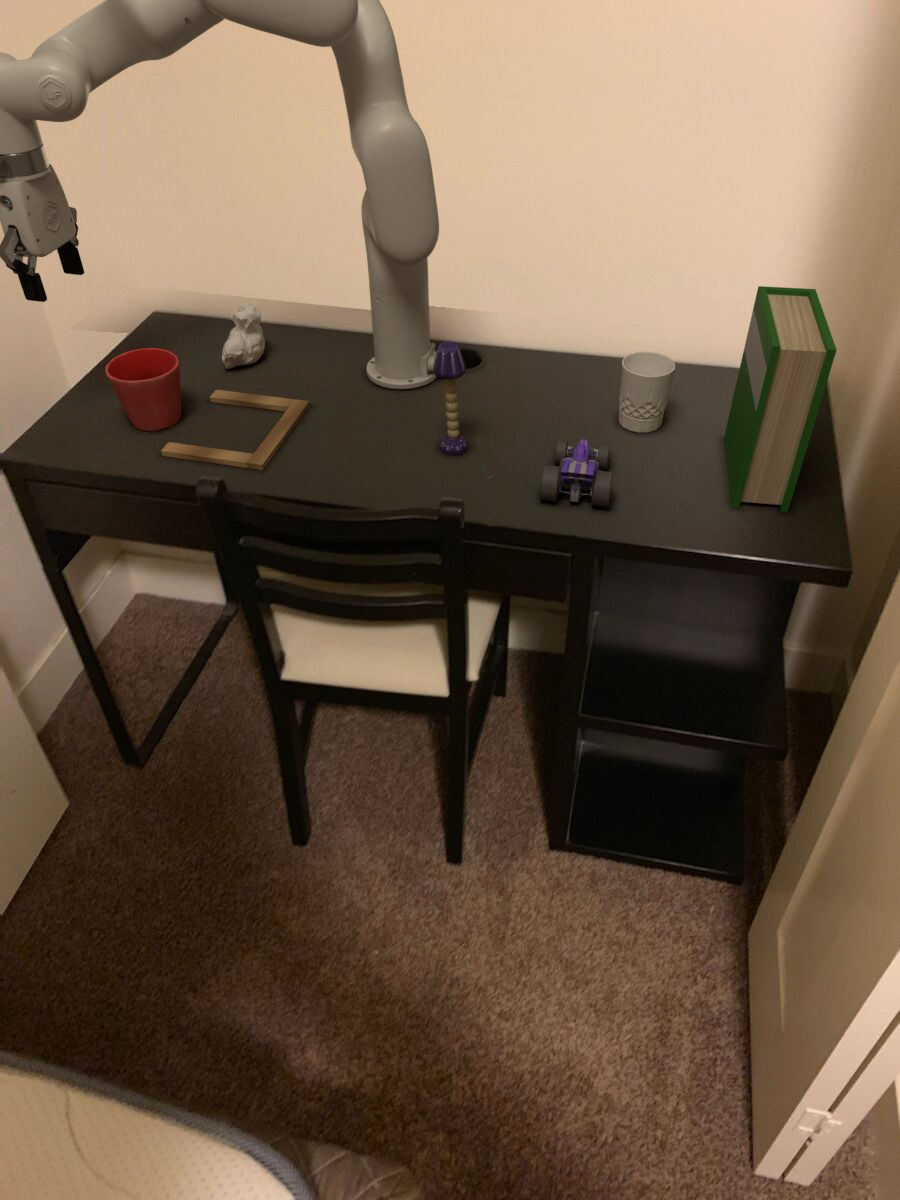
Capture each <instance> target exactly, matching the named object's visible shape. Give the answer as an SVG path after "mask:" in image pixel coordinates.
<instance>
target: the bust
mask: <svg viewBox="0 0 900 1200" xmlns="http://www.w3.org/2000/svg"><path fill="white" fill-rule="evenodd" d="M236 310H237V311H234V312H233V313H232V314H231V315H230V320H231V321H232V322H233V323H234V324H235V326H234V327H233V328H232V329H231V330H230V331H229V335H228V337H227V339H226V341H225V342H224V344H223V348H222V350H221V351H222V352H221V361H222V364H223V366H224V367H225V368H226V369H227V370H230V369H233V368H236V367H239V366H247V365H252V364H255V363H257V362H258V361H259V360H260V358H261V357H262V356H263V354H264V351H265V348H266V344H265V343H266V341H265V336H264V333H263V331H264V330H263V328H262V326H261V325H260V324H261V323H262V316H263V315H262V312H261V309H260V308H259V307H258V306H257V305H255V304H253V302H251V301H248V302H244V303H243V304H241V305H239V306H238V307H237V309H236Z"/></svg>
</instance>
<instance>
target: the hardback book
mask: <svg viewBox="0 0 900 1200" xmlns="http://www.w3.org/2000/svg"><path fill="white" fill-rule="evenodd" d="M754 299H755V300H754V304H753V308H752V312H751V317H750V322H749V325H748V331H747V334H746V339H745V343H744V348H743V352H742V356H741V360H740V366H739V370H738V374H737V378H736V383H735V387H734V391H733V396H732V401H731V404H730V409H729V413H728V419H727V423H726V427H725V432H724V436H723V446H724V452H725V462H726V469H727V477H728V484H729V486H728V487H729V494H730V500H731V508H732V509H740V506H741V503H753V504H765V505H776V506H777V505H778V506H779V511H780V513H789V509H790V506H791V502H792V499H793V497H794V493H795V489H796V486H797V483H798V480H799V476H800V473H801V470H802V466H803V463H804V460H805V456H806V452H807V450H808V446H809V443H810V439H811V437H812V433H813V429H814V426H815V423H816V420H817V416H818V413H819V410H820V407H821V403H822V399H823V397H824V393H825V390H826V388H827V387H826V386H827V384H828V380H829V377H830V373H831V370H832V367H833V364H834V360H835V357H836V354H837V350H838V349H837V347H836V344H835V341H834V338H833V334H832V333H831V330H830V326H829V324H828V321H827V318H826V316H825V315H826V314H825V312H824V309H823V307H822V304H821V301H820V298H819V296H818V293H817V289H816V288H804V287H803V288H802V287H781V286H765V285H764V286H760V285H758V286H757V291H756V295H755V298H754Z"/></svg>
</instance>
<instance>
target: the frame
mask: <svg viewBox="0 0 900 1200" xmlns="http://www.w3.org/2000/svg"><path fill="white" fill-rule="evenodd" d="M209 401H210V403H214V404H215V403H216V404H223V405H229V406H230V405H231V406H239V407H246V408H253V409H254V408H255V409H264V410H269V411H270V410H271V411H278V412H284V413H283V414H282V416H281V417H280V418H279V419H278V421H277V422H276V423H275V425H274V426H273V427H272V429H271V430H270V432H269V433H268V434H267V436H265V438H264V439H263V441H262V442H261V443H260V444H259V445H258V447H257V449H255V451H254V452H253V453H251V452H244V451H237V450H236V451H235V450H229V449H222V448H215V447H207V446H200V445H192V444H185V443H179V442H171V441H168V442H167V443H166V444H165V445H164V446H163V447H162V449H161V450H160V453H161V456H162V457H167V458H173V459H181V460H188V461H194V462H195V461H196V462H201V463H202V462H203V463H209V464H215V465H216V464H218V465H222V466H223V465H224V466H229V467H230V466H231V467H236V468H237V467H238V468H243V469H251V470H257V471H264V470H265V468H267V466H268V464H269V463H270V462H271V460H272V459H273V458H274V456H275V455H276V454H277V452H278V451H279V449H280V448H281V447H282V446H283V444H284V443H285V441H286V440H287V439H288V437H289V436H290V434H291V433H292V432H293V431H294V429H295V428H296V426H297V425H298V423H299V422H300V421H301V419H302V418H303V417H304V415H305V414H306V412H307V411H308V410H309V409H310V407H311V403H310V400H303V399H295V398H286V397H279V396H273V395H272V396H271V395H263V394H257V393H256V394H255V393H247V392H239V391H230V390H222V389H215V390H214V391H213V392H212V394H211V395H210V396H209Z"/></svg>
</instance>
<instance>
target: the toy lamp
mask: <svg viewBox="0 0 900 1200" xmlns="http://www.w3.org/2000/svg"><path fill="white" fill-rule="evenodd" d="M436 351H437V354H436V359H435V363H434V374H435V375H436V376H437V378H438V379H441V380H444V391H445V395H444V398H445V401H446V402H445V409H446V412H445V417H446V419H447V421H446V426H447V435H445V436H444V437H443V438H442V439H441V441H440V443H439V450H440V451H441V452H442V453H443V454H445V455H448V456H459V455H462V454H464V453H465V452H466V451H467V450H468V447H469V446H468V441H467V439H466V438H465V437H464V436H462V435H461V434H460V430H459V426H460V423H459V412H458V408H459V404H458V401H457V400H458V392H457V389H458V384H457V379H459V378H462V377H463V376H464V375H465V374H466V372H467V366H466V363H465V360H464V359H465V358H464V357H463V356H464V355H463V353H462V351H461V348H460V345H459V344H458V343H457V342H454V341H443V342H441V343H440V344H438V347H437V350H436Z"/></svg>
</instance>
